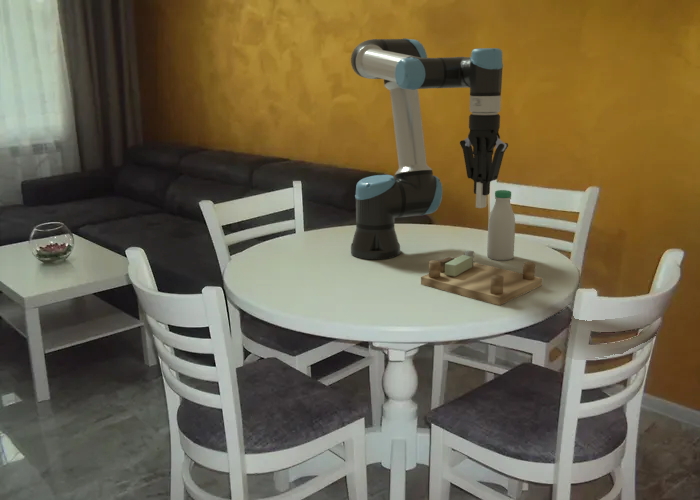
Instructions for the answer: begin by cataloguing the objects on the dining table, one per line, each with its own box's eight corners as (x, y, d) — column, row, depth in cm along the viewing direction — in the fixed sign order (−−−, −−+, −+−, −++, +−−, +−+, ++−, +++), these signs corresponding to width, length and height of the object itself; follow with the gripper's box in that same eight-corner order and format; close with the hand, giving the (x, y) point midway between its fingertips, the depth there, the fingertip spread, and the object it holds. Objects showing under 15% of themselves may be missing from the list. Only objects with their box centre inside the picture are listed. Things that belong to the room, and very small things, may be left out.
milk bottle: (513, 261, 196) (517, 194, 190) (486, 260, 197) (489, 193, 192) (513, 254, 203) (516, 189, 197) (487, 253, 204) (489, 188, 199)
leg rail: (466, 263, 187) (466, 249, 186) (475, 265, 185) (476, 251, 184) (444, 274, 177) (444, 260, 176) (454, 276, 176) (455, 262, 175)
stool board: (420, 284, 177) (421, 262, 176) (465, 267, 191) (465, 246, 189) (499, 305, 161) (500, 281, 159) (541, 285, 175) (543, 263, 173)
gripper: (454, 113, 168) (451, 205, 174) (499, 115, 159) (494, 213, 165) (471, 111, 173) (468, 201, 179) (516, 113, 164) (511, 208, 170)
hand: (481, 207), depth 172 cm, fingers closed
